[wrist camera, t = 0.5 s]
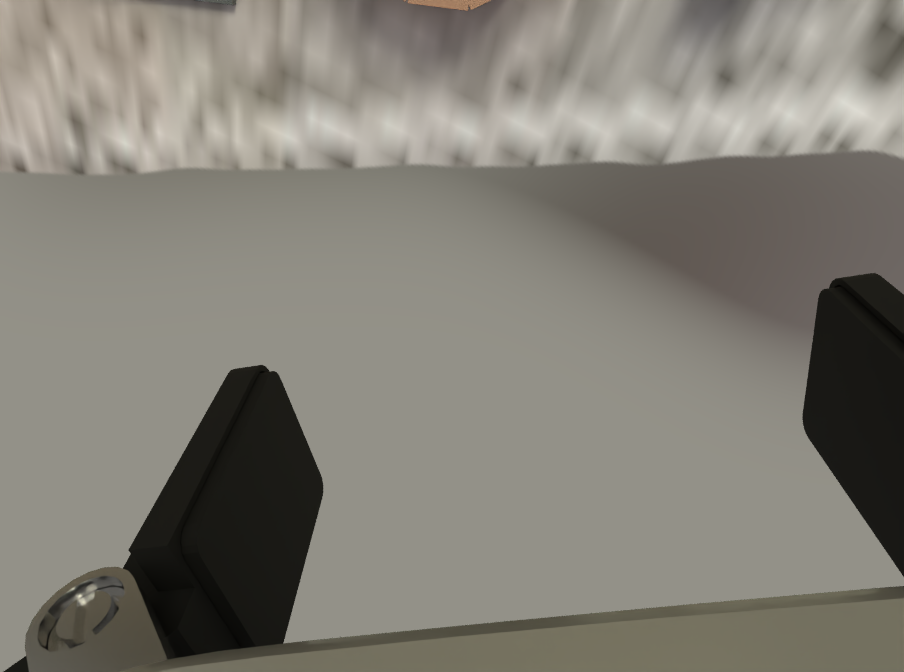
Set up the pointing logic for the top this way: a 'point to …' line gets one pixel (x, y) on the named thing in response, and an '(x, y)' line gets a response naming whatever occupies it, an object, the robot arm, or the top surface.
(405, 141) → the top surface
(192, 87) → the top surface
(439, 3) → the bowl
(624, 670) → the robot arm
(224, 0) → the mat
